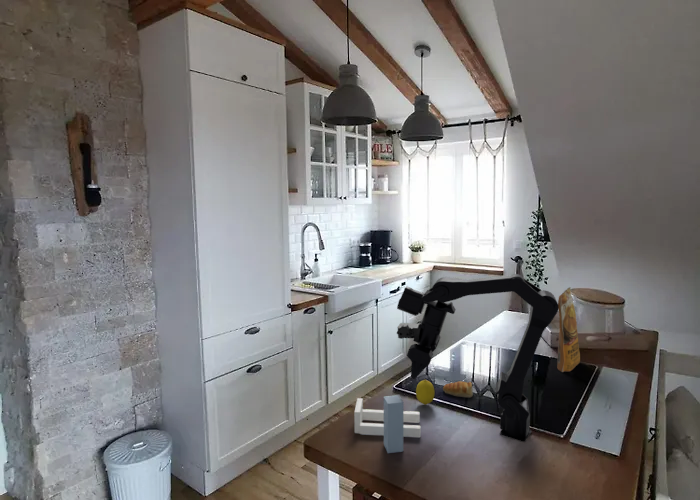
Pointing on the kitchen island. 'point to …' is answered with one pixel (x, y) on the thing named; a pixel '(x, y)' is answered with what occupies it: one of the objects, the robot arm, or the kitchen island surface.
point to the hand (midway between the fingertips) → (415, 371)
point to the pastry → (459, 389)
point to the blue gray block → (393, 423)
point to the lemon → (425, 392)
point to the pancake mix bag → (567, 334)
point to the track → (378, 415)
